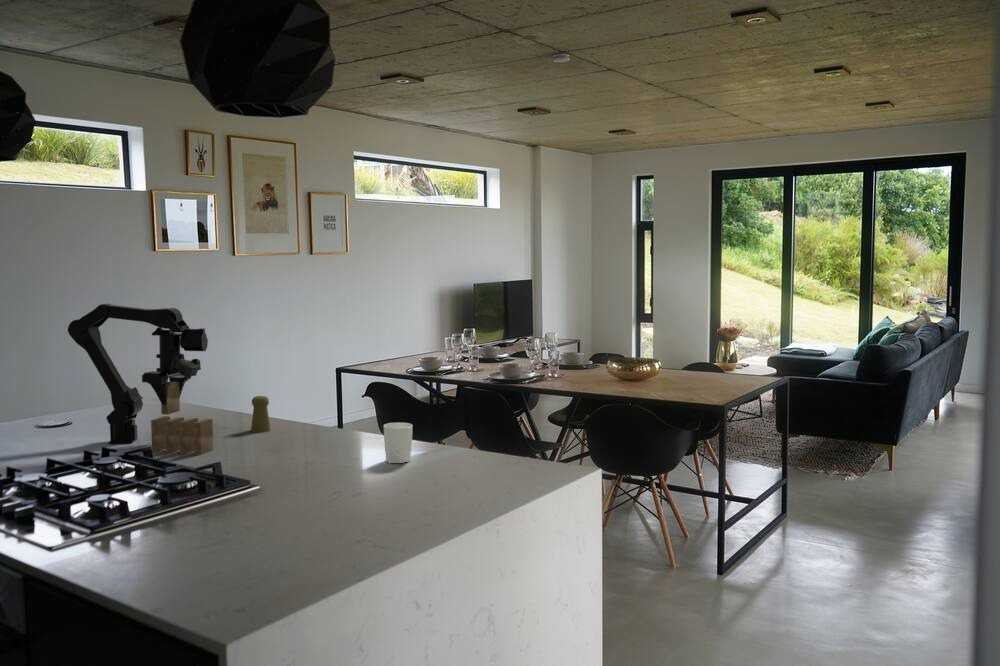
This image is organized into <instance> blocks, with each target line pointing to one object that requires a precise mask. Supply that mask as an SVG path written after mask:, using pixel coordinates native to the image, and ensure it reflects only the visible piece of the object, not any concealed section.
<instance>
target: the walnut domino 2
mask: <svg viewBox="0 0 1000 666" xmlns="http://www.w3.org/2000/svg"><path fill="white" fill-rule="evenodd" d="M180 397H181V395H180V388H179V381H172V382H171V384H170V385H169V386H168V388H167V400H166V404H165V405H163V404H161V403H160V407H161V413H160V414H161V415H164V416H165V415H166V416H168V415H171V414H174V413H178V412H180V411H181V410H180V405H181V402H180V401H181V400H180Z"/></svg>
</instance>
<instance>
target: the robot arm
mask: <svg viewBox="0 0 1000 666" xmlns="http://www.w3.org/2000/svg"><path fill="white" fill-rule="evenodd" d="M108 319H118V320H124V321H125V320H126V321H132V322H133V321H134V322H143V323H146V324H150V325H152V326H154V327H156V329H155V330H154V331H152V333H151V335H152V336H154V337H155V336H159V339H158V341H159V345H158V346H159V347H158V348H159V353H157V354H156V355H155V356H156V358H157V359H159V367H156V371H155V370H152V371H146V372H144V373H143V374H142V375H141V383H147V384H148V385H150V386H151V388H152V389H153V391H154V392H155V395H156V396H157V398H158V399H159V401H160V405H161V404H163V405H165V404H166V400H167V388H168V386H169V385H170V384H171V382H172V381H179V388H180V396H182V392H183V388H184V386H185V384H186V382H188V381H189V380H191V379H192V377H196V376H197V375H198V371H200V370H201V371H202V368H201V366H202V365H201V360H200V359H199V358H193V359H191V360H189V359H188V360H187V359H185V354H184V353H181V349H183V351H185V352H206V351H207V349H208V343H209V340H208V339H209V338H208V336H207V333H206V328H190V326H189V325H188V324H187V323H186V321H185V320H184V319H183V315H182V312H181V311H180V309H178V308H176V307H166V308H141V307H133V306H125V305H117V304H111V303H102V304H98V306H96V307H95V308H94V309H93V310H91V311H89V312H88V313H86V314H85V315H83V316H81V318H78V319H74V320H72V321H71V322H70V323H69V324H68V327H67V333H68V335H69V336H70V337H71V338H72V340H73V341H74V342H75V343H76V344H77V345H78V346H80V348H83V349H82V350H85V352H86V353H87V355H88V356H89V358H90V360H91V362H92V364H93V365H94V367H95V368H96V370H97V372H98V373H99V375H100V377H101V379H102V380H103V382H104V385H106V387H107V389H108V390H109V392H110V398H111V404H112V407H113V410H112V411H111V412H110V413H109V414H108V415H107V416H106V421H107V423H108V424H109V430H110V431H109V435H110V436H109V437H110V439H109V441H108V444H132V443H134V442H135V441H137V440H138V438H139V437H138V435H139V434H138V424H136V418H137V416H138V413H140V412H141V411H142V409H143V406H144V402H143V399H144V397H143V396H141V394H140V393H139V391H138V388H137V387H136V386H135V387H129V386H128V385H127V384H126V383H125V381H124V379H123V378H122V375H121V373H120V372H119V371H118V369H117V367H116V366H115V364H114V362H113V360H112V359H111V357H110V356H109V354H108V352H107V350H106V349H105V347H104V345H103V343H102V335H101V331H100V329H99V328H100V327H101V326H102V325H104V324H105V322H106V321H108Z"/></svg>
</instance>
